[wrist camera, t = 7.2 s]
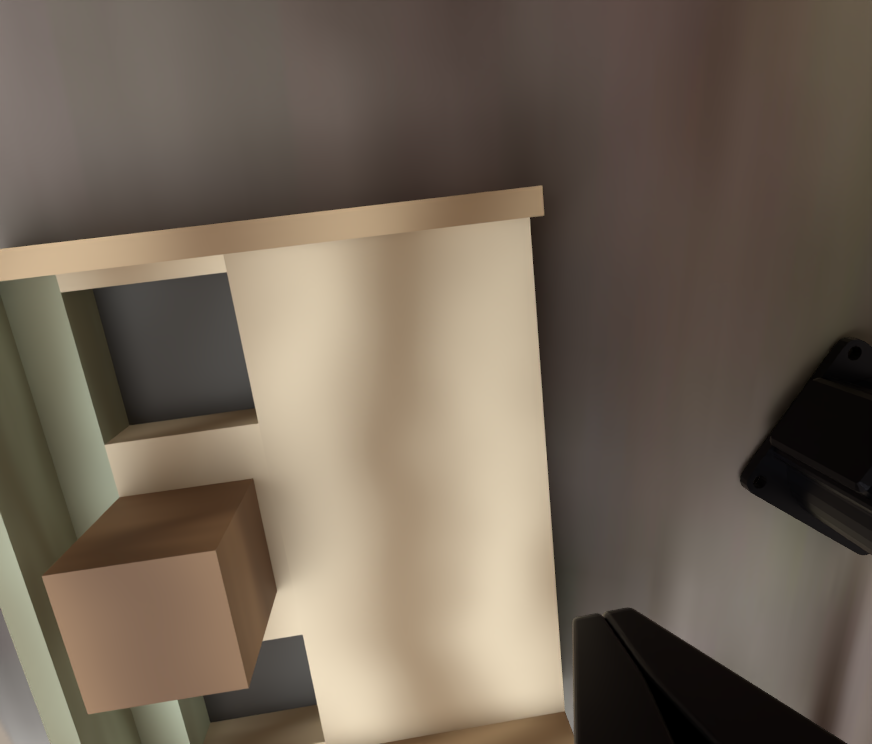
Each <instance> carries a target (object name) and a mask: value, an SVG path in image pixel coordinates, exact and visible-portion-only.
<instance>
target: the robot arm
mask: <svg viewBox="0 0 872 744" xmlns="http://www.w3.org/2000/svg"><path fill="white" fill-rule="evenodd" d="M851 348H852V353H851V355H850V356H848V352H849V350H850V349H851ZM758 476H760V478H759V480H758V481H757V482H756V483H753V482H754V479H755V478H756V477H758ZM740 482H741V484H742V486H743V487H744V488H745V489H747V490H748V491H750V492H751V493H752V494H754V495H756V496H758V497H759V498H761V499H763V500H765V501H766V502H768V503H770V504H772V505H773V506H775V507H777V508H779V509H780V510H782V511H784V512H786V513H787V514H789V515H791V516H793V517H794V518H796V519H798V520H800V521H801V522H803V523H805V524H807V525H808V526H810V527H812V528H814V529H815V530H817V531H819V532H821V533H822V534H824V535H826V536H828V537H829V538H831V539H833V540H835V541H836V542H838V543H840V544H842V545H843V546H845V547H847V548H849V549H850V550H852V551H854V552H856V553H857V554H860V555H868V554H871V555H872V346H870V345H869V344H867V343H866V342H864V341H862V340H859V339H855V338H851V337H847V338H843V339H841V340H839V341H838V342H837V343H836V344H835V346H834V347H833V348H832V350H831V351H830V352H829V354H828V355H827V357H826V358H825V359H824V361H823V362H822V363H821V365H820V366H819V368H818V369H817V370H816V372H815V373H814V374H813V376H812V377H811V379H810V380H809V381H808V383H807V384H806V385H805V387H804V388H803V390H802V391H801V392H800V394H799V395H798V396H797V398H796V399H795V401H794V402H793V403H792V405H791V406H790V407H789V409H788V410H787V412H786V413H785V414H784V416H783V417H782V419H781V420H780V421H779V423H778V424H777V425H776V427H775V428H774V430H773V431H772V432H771V434H770V435H769V436H768V438H767V439H766V441H765V442H764V443H763V445H762V446H761V447H760V449H759V450H758V452H757V453H756V454H755V456H754V457H753V458H752V460H751V461H750V463H749V464H748V465H747V467H746V468H745V469H744V471H743V472H742V475H741V478H740ZM572 636H573V707H574V744H847V743H845V742H844V741H842V740H841V739H839V738H838V737H836V736H834V735H833V734H831V733H830V732H828V731H826V730H825V729H823V728H822V727H820V726H819V725H817V724H815V723H814V722H812V721H811V720H809V719H807V718H806V717H804V716H803V715H801V714H799V713H798V712H796V711H795V710H793V709H792V708H790V707H788V706H787V705H785V704H784V703H782V702H780V701H779V700H777V699H776V698H774V697H772V696H771V695H769V694H768V693H766V692H765V691H763V690H761V689H760V688H758V687H757V686H755V685H753V684H752V683H750V682H749V681H747V680H746V679H744V678H742V677H741V676H739V675H738V674H736V673H734V672H733V671H731V670H730V669H728V668H726V667H725V666H723V665H722V664H720V663H719V662H717V661H715V660H714V659H712V658H711V657H709V656H707V655H706V654H704V653H703V652H701V651H700V650H698V649H696V648H695V647H693V646H692V645H690V644H688V643H687V642H685V641H684V640H682V639H680V638H679V637H677V636H676V635H674V634H673V633H671V632H669V631H668V630H666V629H665V628H663V627H661V626H660V625H658V624H657V623H655V622H654V621H652V620H650V619H649V618H647V617H646V616H644V615H642V614H641V613H639V612H638V611H636V610H634V609H632V608H622V609H616V610H611V611H606V612H605V613H604V614H603V615H600V614H598V613H595V614H590V615H585V616H580V617H576V618H574V619H573V622H572Z"/></svg>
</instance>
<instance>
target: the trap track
mask: <svg viewBox="0 0 872 744" xmlns="http://www.w3.org/2000/svg"><path fill="white" fill-rule="evenodd" d="M537 216H544V204H543V188H542V185H541V186H533V187H524V188H516V189H507V190H499V191H490V192H482V193H473V194H465V195H456V196H448V197H439V198H431V199H422V200H414V201H405V202H397V203H388V204H380V205H371V206H363V207H354V208H346V209H337V210H329V211H320V212H312V213H303V214H295V215H286V216H278V217H269V218H261V219H252V220H244V221H235V222H226V223H218V224H209V225H201V226H192V227H184V228H175V229H167V230H158V231H150V232H141V233H133V234H124V235H116V236H107V237H99V238H90V239H82V240H73V241H65V242H56V243H48V244H39V245H31V246H22V247H14V248H5V249H0V608H1V611H2V613H3V616H4V619H5V622H6V624H7V627H8V630H9V633H10V635H11V638H12V641H13V643H14V646H15V649H16V652H17V654H18V657H19V660H20V663H21V665H22V668H23V671H24V673H25V676H26V679H27V682H28V684H29V687H30V690H31V693H32V695H33V698H34V701H35V703H36V706H37V709H38V712H39V714H40V717H41V720H42V723H43V725H44V728H45V731H46V733H47V736H48V739H49V742H50V744H574V735H573V732H572V729H571V727H570V724H569V721H568V719H567V716H566V713H565V708H564V694H563V680H562V666H561V652H560V638H559V624H558V609H557V595H556V581H555V567H554V553H553V539H552V525H551V511H550V497H549V482H548V468H547V454H546V440H545V426H544V412H543V398H542V384H541V370H540V355H539V341H538V327H537V313H536V299H535V285H534V271H533V257H532V243H531V228H530V217H537ZM252 478H253V480H254V484H255V489H256V494H257V499H258V503H259V508H260V513H261V517H262V522H263V527H264V531H265V536H266V541H267V545H268V550H269V555H270V560H271V564H272V569H273V574H274V578H275V583H276V588H277V593H276V597H275V600H274V603H273V607H272V610H271V614H270V617H269V621H268V624H267V627H266V631H265V634H264V638H263V641H262V644H261V648H260V651H259V655H258V658H257V662H256V665H255V668H254V672H253V675H252V679H251V682H250V685H249V688H247V689H241V690H235V691H229V692H222V693H216V694H210V695H204V696H198V697H192V698H186V699H180V700H173V701H167V702H161V703H155V704H149V705H143V706H137V707H131V708H125V709H118V710H112V711H106V712H100V713H94V714H88V713H87V710H86V707H85V704H84V701H83V699H82V696H81V693H80V690H79V687H78V684H77V681H76V678H75V675H74V672H73V669H72V666H71V663H70V660H69V657H68V654H67V651H66V648H65V645H64V642H63V639H62V636H61V633H60V630H59V627H58V624H57V621H56V618H55V615H54V612H53V609H52V606H51V603H50V600H49V597H48V594H47V591H46V588H45V585H44V582H43V579H42V575H43V574H44V573H45V572H46V571H47V570H48V569H49V568H50V567H51V566H52V565H53V564H54V563H55V562H56V561H57V560H58V559H59V558H60V557H61V556H62V555H63V554H64V553H65V552H66V551H67V550H68V549H69V548H70V547H71V546H72V545H73V544H74V543H75V542H76V541H77V540H78V539H79V538H80V537H81V536H82V535H83V534H84V533H85V532H86V531H87V530H88V529H89V528H90V527H91V526H92V525H93V524H94V523H95V522H96V521H97V520H98V518H99V517H100V516H101V515H102V514H103V513H104V512H105V511H106V510H107V509H108V508H109V507H110V506H111V505H112V504H113V503H114V502H115V501H116V500H117V499H118V498H119V497H125V496H132V495H139V494H146V493H153V492H160V491H167V490H174V489H181V488H188V487H195V486H203V485H210V484H217V483H224V482H231V481H238V480H245V479H252Z"/></svg>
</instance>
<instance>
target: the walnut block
mask: <svg viewBox="0 0 872 744" xmlns="http://www.w3.org/2000/svg"><path fill="white" fill-rule="evenodd" d="M42 579H43V582H44V585H45V588H46V591H47V594H48V597H49V600H50V603H51V606H52V609H53V612H54V615H55V618H56V621H57V624H58V627H59V630H60V633H61V636H62V639H63V642H64V645H65V648H66V651H67V654H68V657H69V660H70V663H71V666H72V669H73V672H74V675H75V678H76V681H77V684H78V687H79V690H80V693H81V696H82V699H83V701H84V704H85V707H86V710H87V713H88V714H94V713H100V712H106V711H112V710H118V709H125V708H131V707H137V706H143V705H149V704H155V703H161V702H167V701H173V700H180V699H186V698H192V697H198V696H204V695H210V694H216V693H222V692H229V691H235V690H241V689H247V688H249V685H250V682H251V679H252V675H253V672H254V668H255V665H256V662H257V658H258V655H259V651H260V648H261V644H262V641H263V638H264V634H265V631H266V627H267V624H268V621H269V617H270V614H271V610H272V607H273V603H274V600H275V597H276V593H277V588H276V583H275V578H274V574H273V569H272V564H271V560H270V555H269V550H268V545H267V541H266V536H265V531H264V527H263V522H262V517H261V513H260V508H259V503H258V499H257V494H256V489H255V484H254V480H253V478H252V479H245V480H238V481H231V482H224V483H217V484H210V485H203V486H195V487H188V488H181V489H174V490H167V491H160V492H153V493H146V494H139V495H132V496H125V497H119V498H118V499H117V500H116V501H115V502H114V503H113V504H112V505H111V506H110V507H109V508H108V509H107V510H106V511H105V512H104V513H103V514H102V515H101V516H100V517H99V518H98V520H97V521H96V522H95V523H94V524H93V525H92V526H91V527H90V528H89V529H88V530H87V531H86V532H85V533H84V534H83V535H82V536H81V537H80V538H79V539H78V540H77V541H76V542H75V543H74V544H73V545H72V546H71V547H70V548H69V549H68V550H67V551H66V552H65V553H64V554H63V555H62V556H61V557H60V558H59V559H58V560H57V561H56V562H55V563H54V564H53V565H52V566H51V567H50V568H49V569H48V570H47V571H46V572H45V573H44V574H43V575H42Z"/></svg>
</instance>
